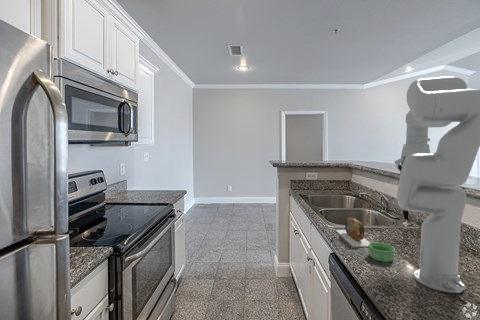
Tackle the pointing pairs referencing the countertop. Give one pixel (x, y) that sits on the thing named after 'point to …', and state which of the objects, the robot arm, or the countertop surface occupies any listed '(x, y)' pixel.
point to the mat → (351, 241)
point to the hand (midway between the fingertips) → (414, 180)
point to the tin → (354, 228)
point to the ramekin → (381, 251)
